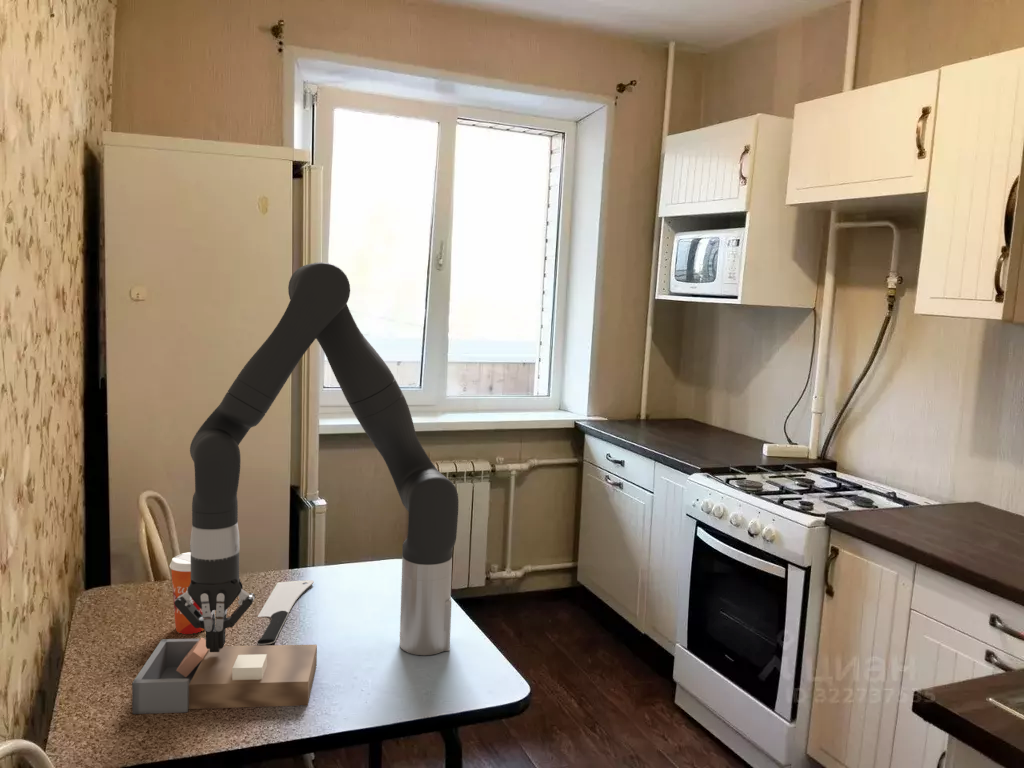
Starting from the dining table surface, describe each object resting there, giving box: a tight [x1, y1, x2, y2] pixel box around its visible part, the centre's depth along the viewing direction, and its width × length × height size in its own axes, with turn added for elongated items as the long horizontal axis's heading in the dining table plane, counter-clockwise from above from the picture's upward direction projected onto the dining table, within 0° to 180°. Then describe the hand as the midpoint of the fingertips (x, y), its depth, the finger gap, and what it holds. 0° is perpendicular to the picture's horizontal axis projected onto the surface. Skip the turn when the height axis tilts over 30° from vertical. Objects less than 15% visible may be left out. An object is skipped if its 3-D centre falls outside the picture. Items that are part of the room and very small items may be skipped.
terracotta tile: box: [176, 636, 208, 677], centre depth 131 cm, size 4×4×2 cm
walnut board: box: [189, 644, 318, 710], centre depth 129 cm, size 18×13×4 cm
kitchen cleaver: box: [256, 579, 315, 646], centre depth 159 cm, size 31×2×10 cm
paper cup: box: [169, 551, 205, 635], centre depth 149 cm, size 8×8×14 cm
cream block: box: [232, 654, 267, 680], centre depth 126 cm, size 4×4×2 cm
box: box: [131, 638, 206, 715], centre depth 127 cm, size 8×15×5 cm, turn 8°
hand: (215, 650), depth 131 cm, fingers closed
